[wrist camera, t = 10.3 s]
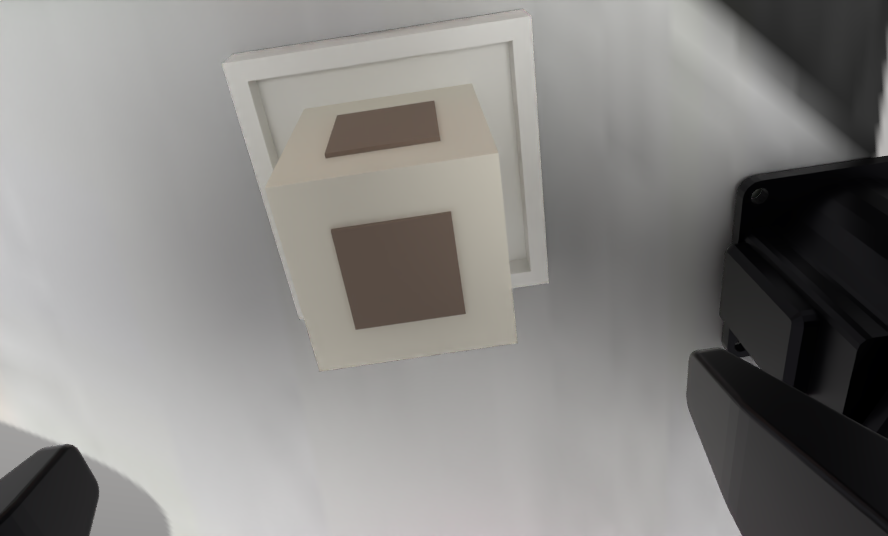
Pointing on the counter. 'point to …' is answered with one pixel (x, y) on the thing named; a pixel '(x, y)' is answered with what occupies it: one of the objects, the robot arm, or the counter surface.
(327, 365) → the letter block
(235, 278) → the counter surface
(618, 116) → the counter surface
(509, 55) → the tray grey
